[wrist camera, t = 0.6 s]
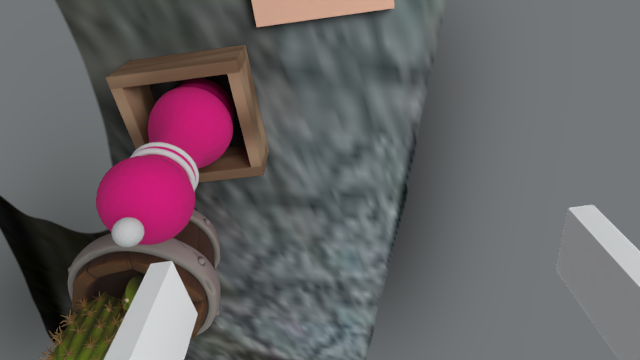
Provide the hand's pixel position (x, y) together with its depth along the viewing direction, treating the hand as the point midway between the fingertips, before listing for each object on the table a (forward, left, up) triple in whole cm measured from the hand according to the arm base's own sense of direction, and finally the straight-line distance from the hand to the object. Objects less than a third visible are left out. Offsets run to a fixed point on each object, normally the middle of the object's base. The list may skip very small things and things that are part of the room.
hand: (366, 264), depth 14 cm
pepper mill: (+4, -13, -28) cm, 31 cm away
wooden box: (+4, -13, -28) cm, 31 cm away
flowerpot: (+19, -21, -28) cm, 40 cm away
